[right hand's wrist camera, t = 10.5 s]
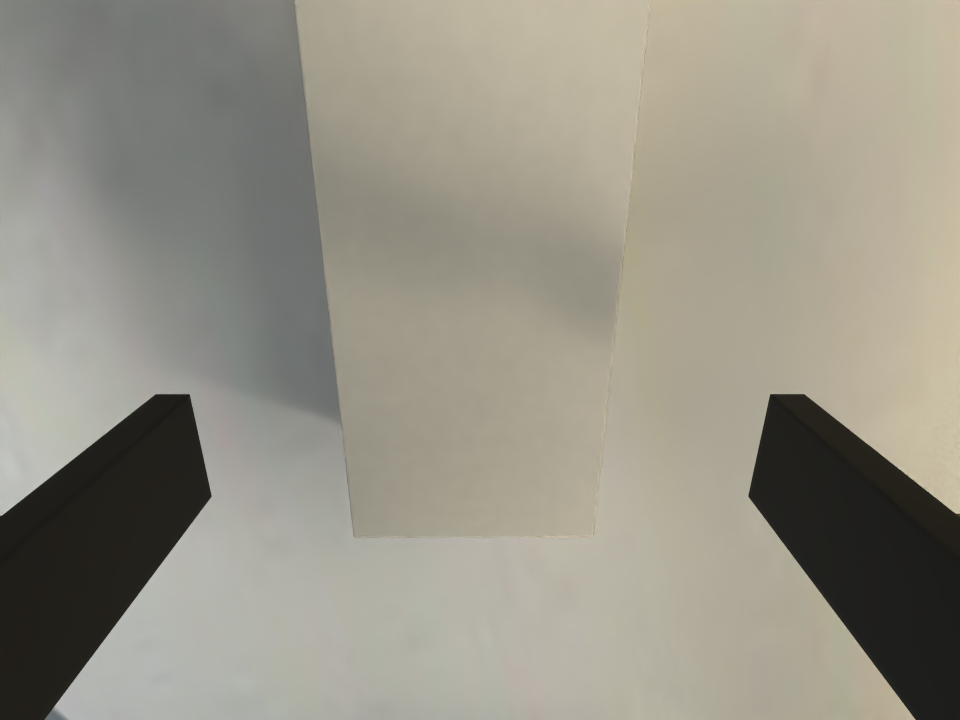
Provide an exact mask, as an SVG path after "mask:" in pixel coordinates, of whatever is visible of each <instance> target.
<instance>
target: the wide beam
mask: <svg viewBox="0 0 960 720" xmlns="http://www.w3.org/2000/svg"><path fill="white" fill-rule="evenodd" d="M650 5H651V0H294V6H295V15H296V24H297V33H298V42H299V51H300V60H301V69H302V78H303V87H304V96H305V105H306V114H307V123H308V131H309V140H310V149H311V158H312V167H313V176H314V185H315V194H316V203H317V212H318V221H319V230H320V239H321V248H322V257H323V266H324V275H325V284H326V293H327V302H328V311H329V320H330V329H331V338H332V347H333V356H334V365H335V374H336V383H337V391H338V400H339V409H340V418H341V427H342V436H343V445H344V454H345V463H346V472H347V481H348V490H349V499H350V508H351V517H352V526H353V535H354V537H355V538H435V537H592V536H593V535H594V528H595V518H596V509H597V500H598V490H599V481H600V472H601V462H602V453H603V444H604V434H605V425H606V416H607V406H608V397H609V388H610V378H611V369H612V360H613V350H614V341H615V332H616V322H617V313H618V304H619V294H620V285H621V276H622V266H623V257H624V248H625V238H626V229H627V220H628V210H629V201H630V192H631V182H632V173H633V164H634V154H635V145H636V136H637V126H638V117H639V108H640V98H641V89H642V80H643V70H644V61H645V52H646V42H647V33H648V24H649V14H650Z"/></svg>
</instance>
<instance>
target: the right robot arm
mask: <svg viewBox="0 0 960 720" xmlns="http://www.w3.org/2000/svg"><path fill="white" fill-rule="evenodd" d="M211 497H212V496H211V491H210V486H209V482H208V477H207V472H206V468H205V463H204V459H203V454H202V449H201V445H200V440H199V435H198V431H197V426H196V421H195V417H194V412H193V408H192V403H191V398H190V394H156V395H154V396H153V397H152V398H150V399H149V400H148V401H147V402H145V403H144V404H143V405H142V406H140V407H139V408H138V409H137V410H135V411H134V412H133V413H131V414H130V415H129V416H128V417H126V418H125V419H124V420H123V421H121V422H120V423H119V424H118V425H116V426H115V427H114V428H112V429H111V430H110V431H109V432H107V433H106V434H105V435H104V436H102V437H101V438H100V439H99V440H97V441H96V442H95V443H93V444H92V445H91V446H90V447H88V448H87V449H86V450H85V451H83V452H82V453H81V454H80V455H78V456H77V457H76V458H75V459H73V460H72V461H71V462H69V463H68V464H67V465H66V466H64V467H63V468H62V469H61V470H59V471H58V472H57V473H56V474H54V475H53V476H52V477H50V478H49V479H48V480H47V481H45V482H44V483H43V484H42V485H40V486H39V487H38V488H37V489H35V490H34V491H33V492H31V493H30V494H29V495H28V496H26V497H25V498H24V499H23V500H21V501H20V502H19V503H18V504H16V505H15V506H14V507H12V508H11V509H10V510H9V511H7V512H6V513H5V514H4V515H2V516H0V720H44V719H45V718H46V717H47V715H48V714H49V713H50V711H51V710H52V709H53V707H54V706H55V705H56V703H57V702H58V701H59V699H60V698H61V697H62V695H63V694H64V693H65V691H66V690H67V689H68V687H69V686H70V685H71V683H72V682H73V681H74V679H75V678H76V677H77V675H78V674H79V673H80V671H81V670H82V669H83V667H84V666H85V665H86V663H87V662H88V661H89V659H90V658H91V657H92V655H93V654H94V653H95V651H96V650H97V649H98V647H99V646H100V645H101V643H102V642H103V641H104V639H105V638H106V637H107V635H108V634H109V633H110V631H111V630H112V629H113V627H114V626H115V625H116V623H117V622H118V621H119V619H120V618H121V617H122V615H123V614H124V613H125V611H126V610H127V609H128V607H129V606H130V605H131V603H132V602H133V601H134V599H135V598H136V597H137V595H138V594H139V593H140V591H141V590H142V589H143V587H144V586H145V585H146V583H147V582H148V581H149V579H150V578H151V577H152V575H153V574H154V573H155V571H156V570H157V569H158V567H159V566H160V565H161V563H162V562H163V561H164V559H165V558H166V557H167V555H168V554H169V553H170V551H171V550H172V549H173V547H174V546H175V545H176V543H177V542H178V541H179V539H180V538H181V537H182V535H183V534H184V533H185V531H186V530H187V529H188V527H189V526H190V525H191V523H192V522H193V521H194V519H195V518H196V517H197V515H198V514H199V513H200V511H201V510H202V509H203V507H204V506H205V505H206V503H207V502H208V501H209V499H210V498H211ZM748 497H749V498H750V499H751V501H752V502H753V503H754V505H755V506H756V507H757V509H758V510H759V511H760V513H761V514H762V515H763V517H764V518H765V519H766V521H767V522H768V523H769V525H770V526H771V527H772V529H773V530H774V531H775V533H776V534H777V535H778V537H779V538H780V539H781V541H782V542H783V543H784V545H785V546H786V547H787V549H788V550H789V551H790V553H791V554H792V555H793V557H794V558H795V559H796V561H797V562H798V563H799V565H800V566H801V567H802V569H803V570H804V571H805V573H806V574H807V575H808V577H809V578H810V579H811V581H812V582H813V583H814V585H815V586H816V587H817V589H818V590H819V591H820V593H821V594H822V595H823V597H824V598H825V599H826V601H827V602H828V603H829V605H830V606H831V607H832V609H833V610H834V611H835V613H836V614H837V615H838V617H839V618H840V619H841V621H842V622H843V623H844V625H845V626H846V627H847V629H848V630H849V631H850V633H851V634H852V635H853V637H854V638H855V639H856V641H857V642H858V643H859V645H860V646H861V647H862V649H863V650H864V651H865V653H866V654H867V655H868V657H869V658H870V659H871V661H872V662H873V663H874V665H875V666H876V667H877V669H878V670H879V671H880V673H881V674H882V675H883V677H884V678H885V679H886V681H887V682H888V683H889V685H890V686H891V687H892V689H893V690H894V691H895V693H896V694H897V695H898V697H899V698H900V699H901V701H902V702H903V703H904V705H905V706H906V707H907V709H908V710H909V711H910V713H911V714H912V715H913V717H914V718H915V719H916V720H960V514H955V513H954V512H953V511H951V510H950V509H949V508H948V507H946V506H945V505H944V504H942V503H941V502H940V501H939V500H937V499H936V498H935V497H934V496H932V495H931V494H930V493H929V492H927V491H926V490H925V489H923V488H922V487H921V486H920V485H918V484H917V483H916V482H915V481H913V480H912V479H911V478H910V477H908V476H907V475H906V474H904V473H903V472H902V471H901V470H899V469H898V468H897V467H896V466H894V465H893V464H892V463H891V462H889V461H888V460H887V459H885V458H884V457H883V456H882V455H880V454H879V453H878V452H877V451H875V450H874V449H873V448H872V447H870V446H869V445H868V444H866V443H865V442H864V441H863V440H861V439H860V438H859V437H858V436H856V435H855V434H854V433H853V432H851V431H850V430H849V429H848V428H846V427H845V426H844V425H842V424H841V423H840V422H839V421H837V420H836V419H835V418H834V417H832V416H831V415H830V414H829V413H827V412H826V411H825V410H823V409H822V408H821V407H820V406H818V405H817V404H816V403H815V402H813V401H812V400H811V399H810V398H808V397H807V396H806V395H804V394H770V398H769V403H768V408H767V412H766V417H765V421H764V426H763V431H762V435H761V440H760V445H759V449H758V454H757V459H756V463H755V468H754V472H753V477H752V482H751V486H750V491H749V496H748Z"/></svg>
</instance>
